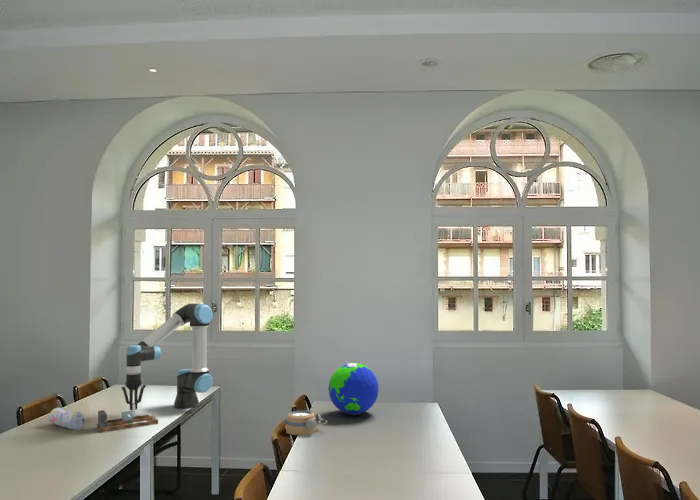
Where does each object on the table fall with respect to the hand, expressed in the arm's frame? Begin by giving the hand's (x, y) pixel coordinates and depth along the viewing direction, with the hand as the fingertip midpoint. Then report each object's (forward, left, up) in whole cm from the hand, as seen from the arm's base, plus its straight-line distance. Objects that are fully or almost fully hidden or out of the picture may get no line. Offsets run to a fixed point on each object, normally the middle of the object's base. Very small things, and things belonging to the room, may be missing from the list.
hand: (133, 415), depth 314 cm
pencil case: (+32, -17, -5) cm, 37 cm away
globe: (-114, +50, -5) cm, 124 cm away
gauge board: (+3, 0, -5) cm, 6 cm away
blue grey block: (+3, +2, -3) cm, 5 cm away
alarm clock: (-75, +64, -5) cm, 99 cm away
